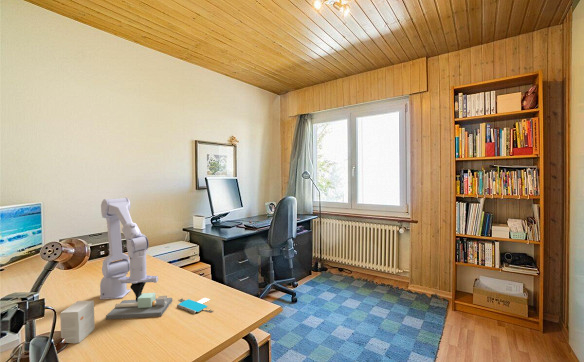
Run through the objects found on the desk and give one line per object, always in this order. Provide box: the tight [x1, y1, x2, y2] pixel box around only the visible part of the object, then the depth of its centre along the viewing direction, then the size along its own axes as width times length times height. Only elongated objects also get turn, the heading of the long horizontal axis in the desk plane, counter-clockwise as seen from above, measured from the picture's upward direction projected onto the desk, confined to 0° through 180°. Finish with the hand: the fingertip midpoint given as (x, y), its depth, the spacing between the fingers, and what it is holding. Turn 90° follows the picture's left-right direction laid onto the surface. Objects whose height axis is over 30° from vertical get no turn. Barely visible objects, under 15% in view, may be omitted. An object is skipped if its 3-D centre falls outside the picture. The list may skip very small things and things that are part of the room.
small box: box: [59, 300, 96, 344], centre depth 89 cm, size 8×6×10 cm
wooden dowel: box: [114, 301, 166, 308], centre depth 106 cm, size 19×2×2 cm, turn 96°
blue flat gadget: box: [176, 297, 213, 315], centre depth 110 cm, size 20×12×2 cm, turn 60°
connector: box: [156, 295, 168, 307], centre depth 107 cm, size 3×3×3 cm
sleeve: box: [138, 292, 157, 308], centre depth 106 cm, size 5×4×4 cm
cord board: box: [105, 297, 173, 320], centre depth 106 cm, size 20×12×2 cm, turn 96°
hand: (138, 300), depth 106 cm, fingers closed, pressing on sleeve
